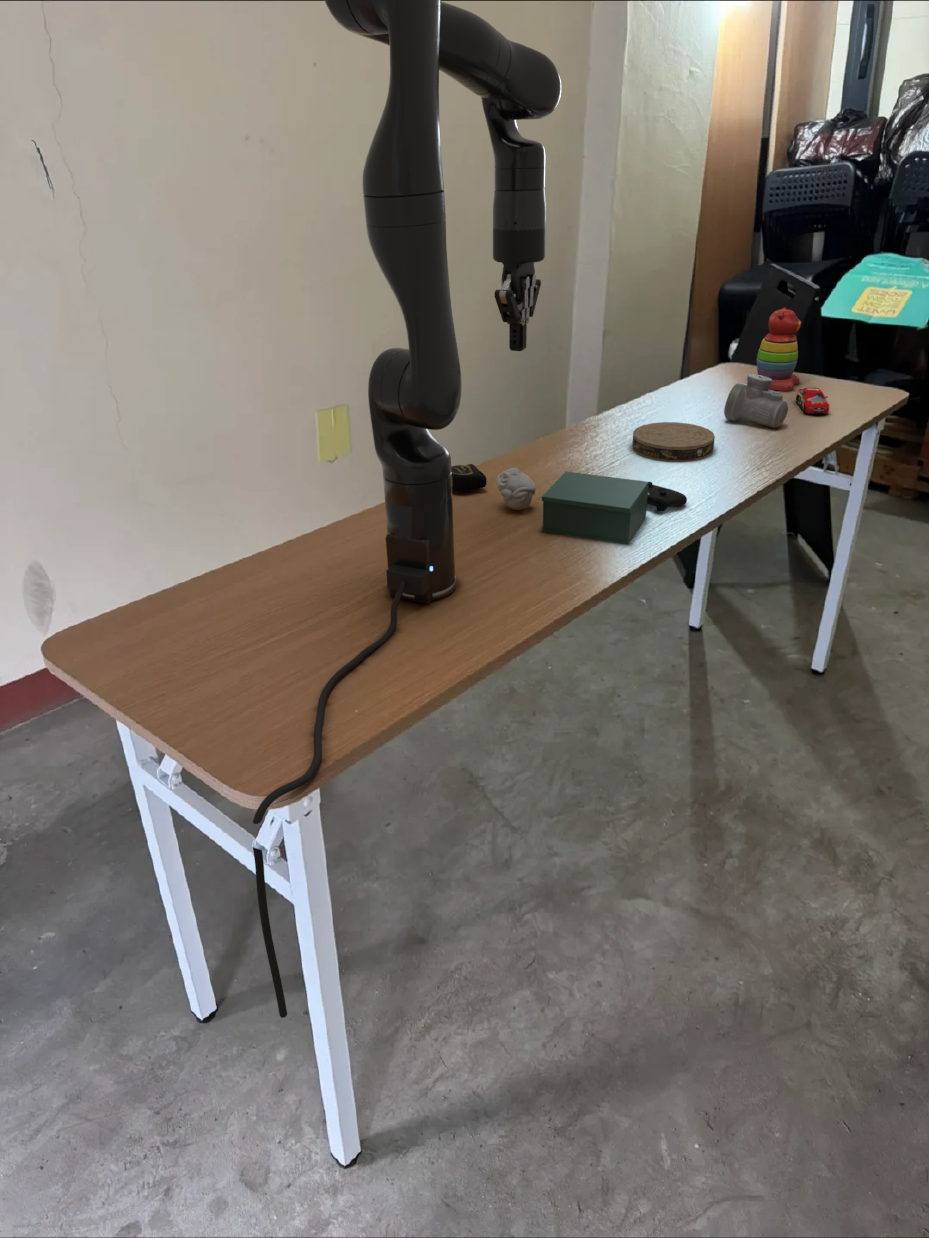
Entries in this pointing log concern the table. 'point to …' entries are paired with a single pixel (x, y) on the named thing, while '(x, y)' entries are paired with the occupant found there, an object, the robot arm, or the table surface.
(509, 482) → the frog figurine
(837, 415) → the table surface
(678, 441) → the wood slice coaster
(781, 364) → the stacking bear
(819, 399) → the race car
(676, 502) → the game controller
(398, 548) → the robot arm
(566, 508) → the chest
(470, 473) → the tape measure
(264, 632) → the table surface
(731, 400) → the pipe fitting
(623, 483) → the lid
